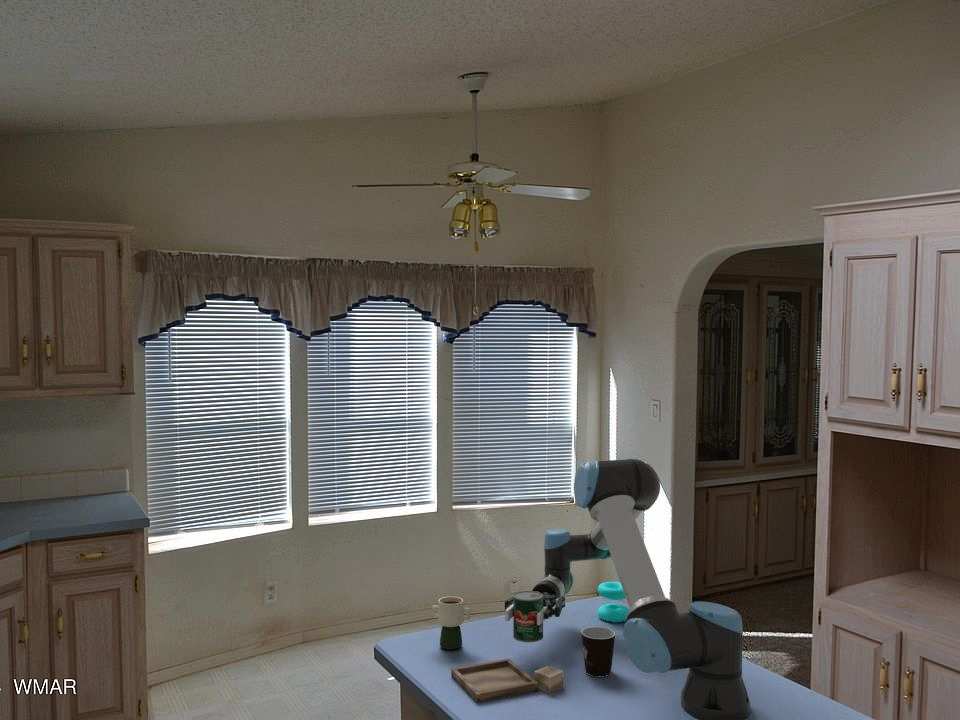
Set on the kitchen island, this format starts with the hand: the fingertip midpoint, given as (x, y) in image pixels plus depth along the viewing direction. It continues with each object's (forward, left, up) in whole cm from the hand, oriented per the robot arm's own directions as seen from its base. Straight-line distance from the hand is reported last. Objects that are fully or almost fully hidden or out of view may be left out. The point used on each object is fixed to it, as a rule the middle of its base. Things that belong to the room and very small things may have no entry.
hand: (522, 617), depth 205 cm
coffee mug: (-9, -17, -13) cm, 23 cm away
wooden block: (-13, -1, -13) cm, 18 cm away
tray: (-6, +11, -13) cm, 18 cm away
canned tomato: (+3, -3, -7) cm, 8 cm away
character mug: (+20, +12, -13) cm, 27 cm away
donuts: (+22, -42, -13) cm, 50 cm away
